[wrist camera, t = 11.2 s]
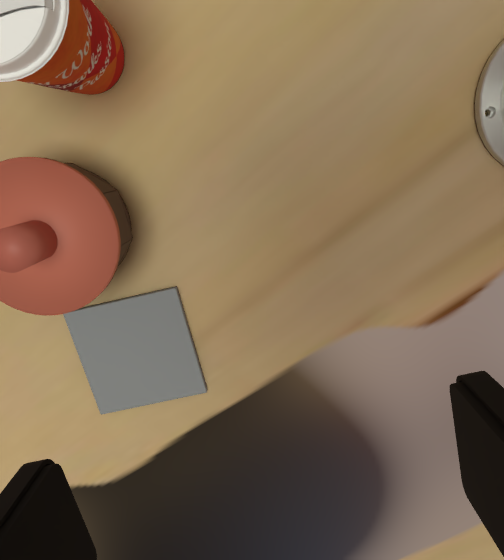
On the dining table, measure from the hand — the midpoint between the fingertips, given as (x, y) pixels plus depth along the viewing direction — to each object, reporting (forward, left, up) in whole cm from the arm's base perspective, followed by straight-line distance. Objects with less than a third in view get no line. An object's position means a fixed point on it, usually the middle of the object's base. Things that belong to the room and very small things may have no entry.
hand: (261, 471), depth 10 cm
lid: (+16, -5, -24) cm, 29 cm away
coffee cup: (+10, -18, -31) cm, 37 cm away
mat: (+14, +8, -30) cm, 34 cm away
